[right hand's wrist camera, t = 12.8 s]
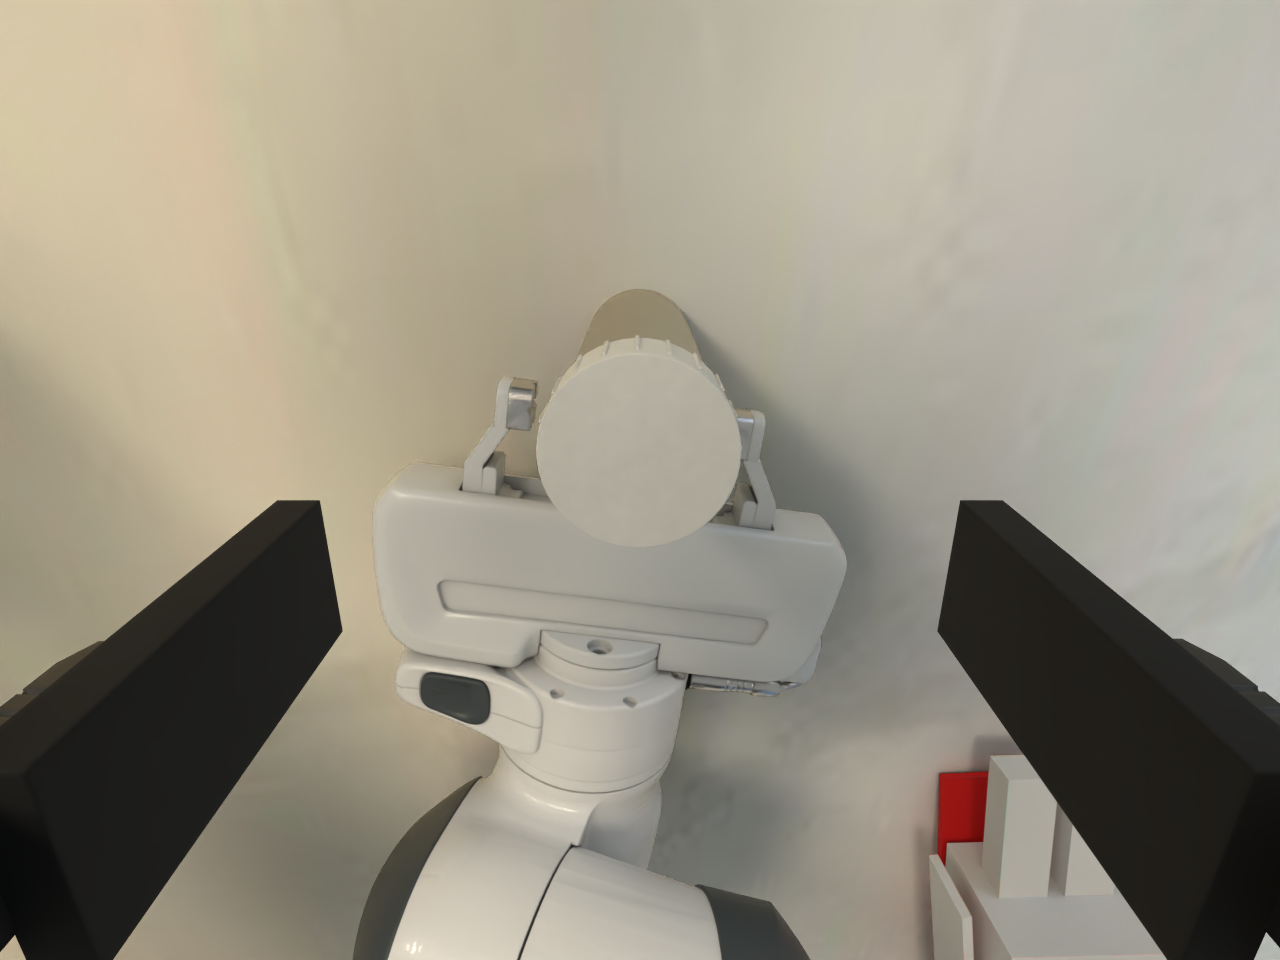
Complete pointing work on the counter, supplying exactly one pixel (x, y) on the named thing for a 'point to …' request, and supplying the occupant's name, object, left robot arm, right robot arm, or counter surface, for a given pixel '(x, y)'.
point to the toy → (1022, 876)
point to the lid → (638, 443)
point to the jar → (639, 321)
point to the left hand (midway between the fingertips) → (633, 396)
